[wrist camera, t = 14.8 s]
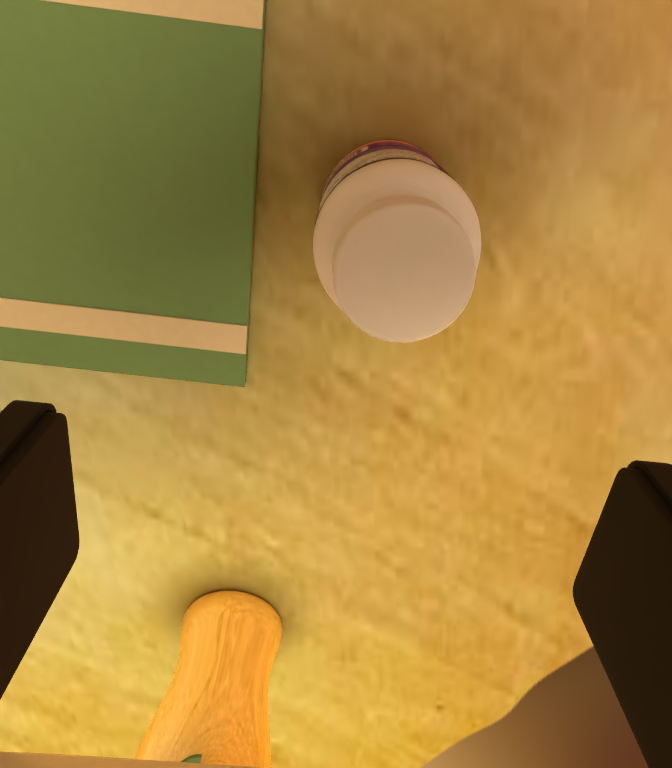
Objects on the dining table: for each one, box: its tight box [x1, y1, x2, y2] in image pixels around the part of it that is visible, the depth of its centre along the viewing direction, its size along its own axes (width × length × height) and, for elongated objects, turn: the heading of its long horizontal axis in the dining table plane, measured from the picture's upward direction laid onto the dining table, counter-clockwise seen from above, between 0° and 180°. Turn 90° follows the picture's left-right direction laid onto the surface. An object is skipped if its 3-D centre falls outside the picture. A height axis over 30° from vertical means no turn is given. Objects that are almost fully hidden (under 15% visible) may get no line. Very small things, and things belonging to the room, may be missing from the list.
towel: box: [0, 0, 266, 387], centre depth 24 cm, size 16×18×1 cm
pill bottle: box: [313, 140, 481, 343], centre depth 21 cm, size 5×5×10 cm
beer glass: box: [134, 591, 283, 768], centre depth 30 cm, size 7×7×15 cm
